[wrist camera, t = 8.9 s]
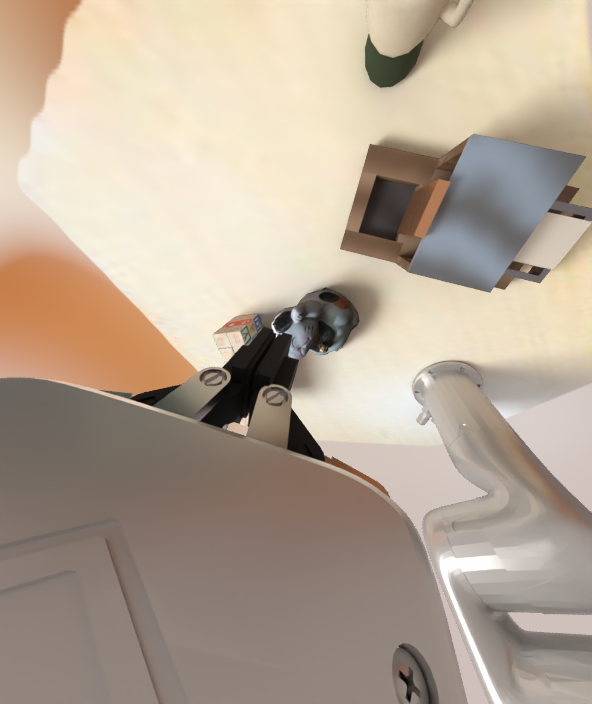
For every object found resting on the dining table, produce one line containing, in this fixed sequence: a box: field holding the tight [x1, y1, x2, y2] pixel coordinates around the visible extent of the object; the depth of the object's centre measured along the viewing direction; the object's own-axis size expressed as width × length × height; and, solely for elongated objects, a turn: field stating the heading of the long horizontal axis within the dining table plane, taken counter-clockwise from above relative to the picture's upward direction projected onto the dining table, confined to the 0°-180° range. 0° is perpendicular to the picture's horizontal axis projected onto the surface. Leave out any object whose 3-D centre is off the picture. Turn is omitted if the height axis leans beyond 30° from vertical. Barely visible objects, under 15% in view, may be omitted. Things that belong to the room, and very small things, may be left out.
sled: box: [397, 179, 592, 283], centre depth 25 cm, size 9×20×9 cm, turn 78°
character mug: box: [365, 0, 473, 88], centre depth 19 cm, size 11×7×13 cm, turn 62°
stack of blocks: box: [213, 314, 263, 425], centre depth 46 cm, size 21×6×12 cm, turn 12°
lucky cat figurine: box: [272, 288, 359, 359], centre depth 39 cm, size 15×12×14 cm
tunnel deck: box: [340, 134, 586, 292], centre depth 27 cm, size 13×26×11 cm, turn 78°
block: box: [513, 212, 592, 270], centre depth 27 cm, size 5×5×6 cm
